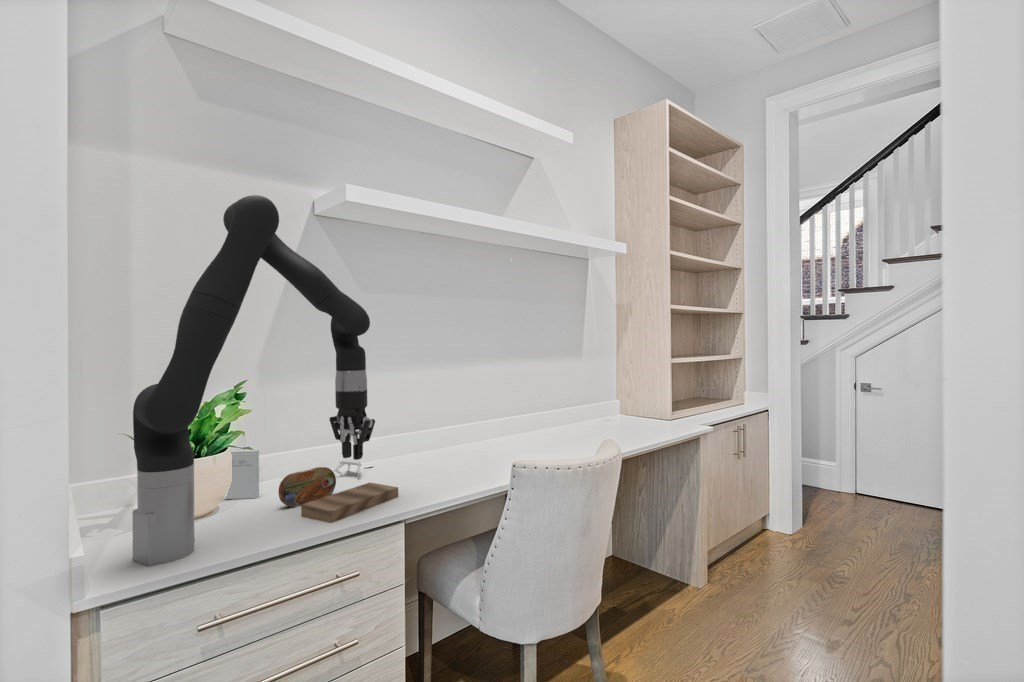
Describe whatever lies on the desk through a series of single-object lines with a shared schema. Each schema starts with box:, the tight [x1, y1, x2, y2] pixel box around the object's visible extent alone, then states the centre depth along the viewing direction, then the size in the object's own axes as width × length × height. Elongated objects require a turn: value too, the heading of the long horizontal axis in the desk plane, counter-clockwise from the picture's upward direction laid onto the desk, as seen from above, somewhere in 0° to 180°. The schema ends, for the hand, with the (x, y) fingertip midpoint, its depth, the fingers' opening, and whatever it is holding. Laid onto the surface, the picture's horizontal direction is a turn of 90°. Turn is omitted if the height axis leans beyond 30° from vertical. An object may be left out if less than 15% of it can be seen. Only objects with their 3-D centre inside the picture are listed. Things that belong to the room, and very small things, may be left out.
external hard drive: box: [225, 449, 260, 500], centre depth 139 cm, size 2×8×12 cm, turn 96°
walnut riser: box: [300, 482, 399, 524], centre depth 131 cm, size 22×10×3 cm, turn 150°
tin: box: [278, 466, 337, 508], centre depth 135 cm, size 15×3×8 cm, turn 143°
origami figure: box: [332, 457, 362, 479], centre depth 160 cm, size 12×8×5 cm
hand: (352, 457), depth 131 cm, fingers open, 3 cm apart
